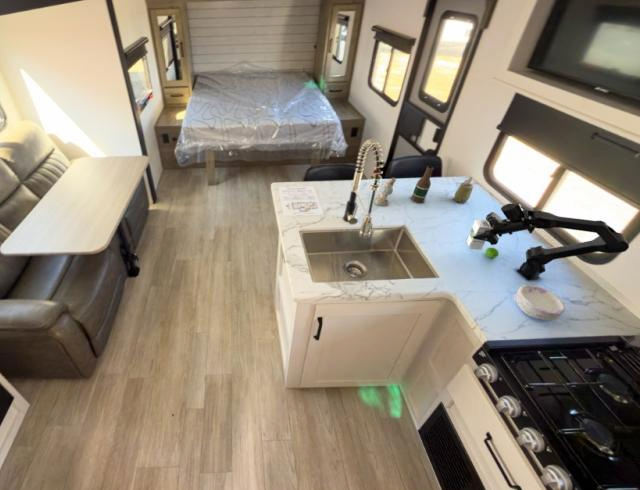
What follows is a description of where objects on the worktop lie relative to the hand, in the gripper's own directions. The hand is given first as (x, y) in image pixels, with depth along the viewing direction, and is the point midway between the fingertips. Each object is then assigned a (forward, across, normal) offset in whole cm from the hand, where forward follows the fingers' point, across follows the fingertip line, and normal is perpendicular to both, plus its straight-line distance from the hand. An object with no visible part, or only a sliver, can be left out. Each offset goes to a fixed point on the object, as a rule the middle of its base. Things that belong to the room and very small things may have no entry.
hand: (475, 233), depth 159 cm
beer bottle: (+32, -32, -16) cm, 48 cm away
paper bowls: (-12, +21, +30) cm, 39 cm away
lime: (+2, -4, +16) cm, 17 cm away
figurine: (+44, -14, -27) cm, 54 cm away
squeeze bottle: (+18, -49, -1) cm, 52 cm away
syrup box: (+4, 0, +6) cm, 8 cm away
